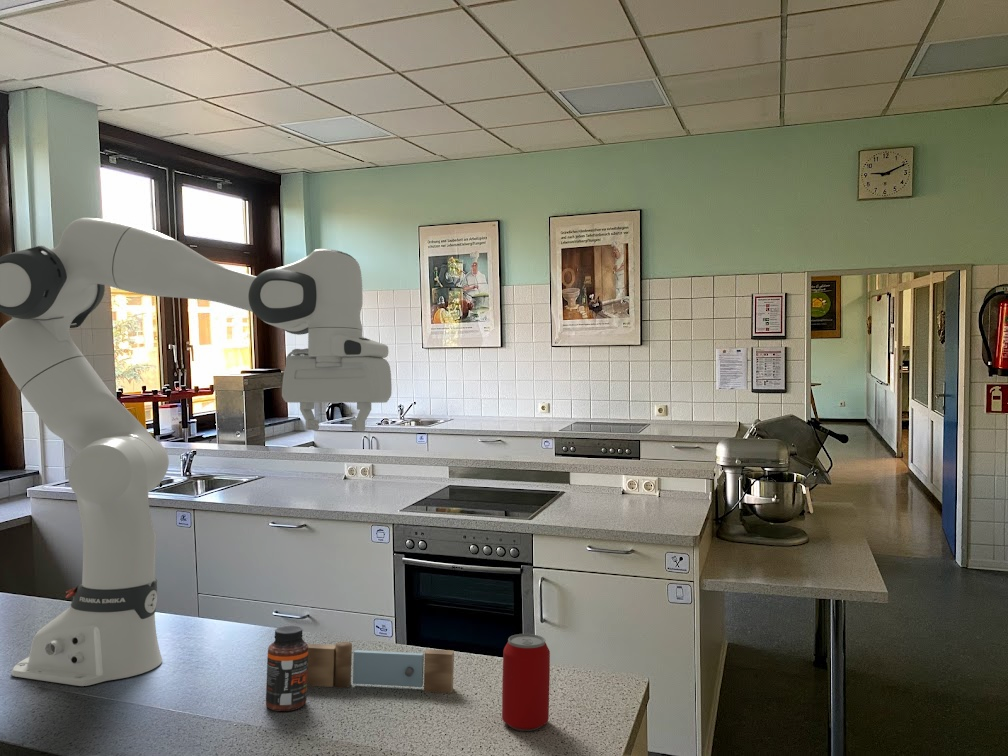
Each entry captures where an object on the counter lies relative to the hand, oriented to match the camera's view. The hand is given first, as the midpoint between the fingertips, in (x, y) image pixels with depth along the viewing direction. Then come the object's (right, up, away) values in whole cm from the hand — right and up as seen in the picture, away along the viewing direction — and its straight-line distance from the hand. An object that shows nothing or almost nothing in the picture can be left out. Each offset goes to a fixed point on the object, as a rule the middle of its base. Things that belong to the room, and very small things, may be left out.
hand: (334, 430), depth 128 cm
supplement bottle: (-5, -41, -12) cm, 43 cm away
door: (+9, -40, -5) cm, 42 cm away
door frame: (+7, -41, -4) cm, 42 cm away
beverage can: (+31, -41, -17) cm, 54 cm away
